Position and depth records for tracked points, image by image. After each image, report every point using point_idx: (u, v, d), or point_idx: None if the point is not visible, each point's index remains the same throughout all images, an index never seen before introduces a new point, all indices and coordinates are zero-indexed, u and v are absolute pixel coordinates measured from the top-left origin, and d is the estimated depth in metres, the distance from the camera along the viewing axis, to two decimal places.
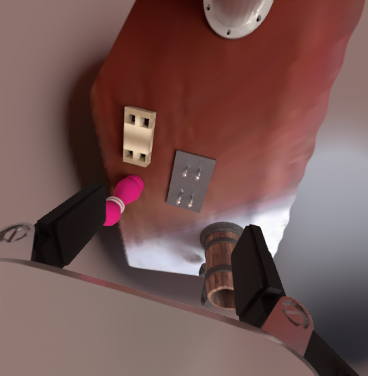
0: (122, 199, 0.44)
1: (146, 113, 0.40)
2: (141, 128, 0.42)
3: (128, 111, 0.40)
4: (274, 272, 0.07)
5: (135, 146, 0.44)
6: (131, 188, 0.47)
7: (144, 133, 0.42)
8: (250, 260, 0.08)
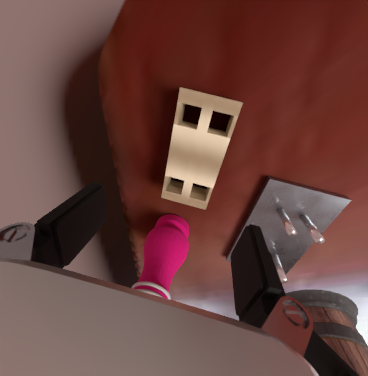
0: (165, 282, 0.21)
1: (230, 102, 0.17)
2: (211, 136, 0.19)
3: (187, 97, 0.18)
4: (274, 272, 0.07)
5: (190, 172, 0.22)
6: (177, 249, 0.25)
7: (215, 147, 0.20)
8: (250, 260, 0.08)
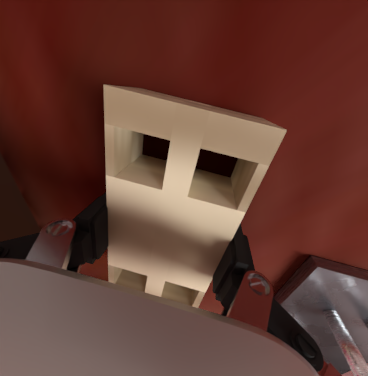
0: None
1: (248, 129, 0.06)
2: (197, 206, 0.08)
3: (129, 113, 0.06)
4: (244, 250, 0.08)
5: (158, 264, 0.10)
6: None
7: (209, 227, 0.08)
8: None
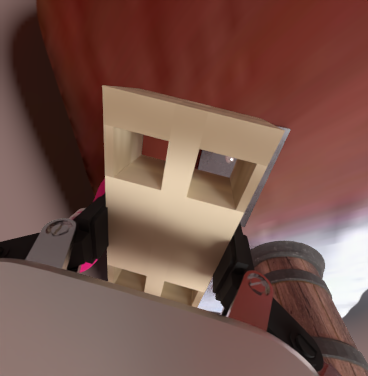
0: None
1: (247, 130, 0.06)
2: (196, 206, 0.08)
3: (128, 114, 0.06)
4: (244, 250, 0.08)
5: (157, 264, 0.10)
6: None
7: (208, 227, 0.08)
8: None
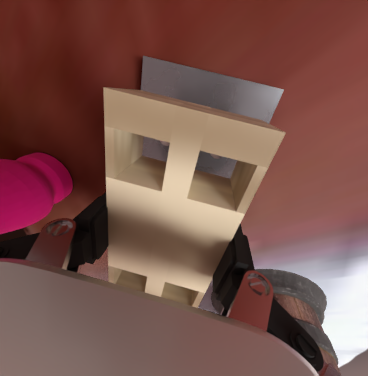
0: None
1: (247, 132, 0.06)
2: (197, 207, 0.08)
3: (129, 116, 0.06)
4: (244, 250, 0.08)
5: (158, 265, 0.10)
6: None
7: (209, 228, 0.08)
8: None
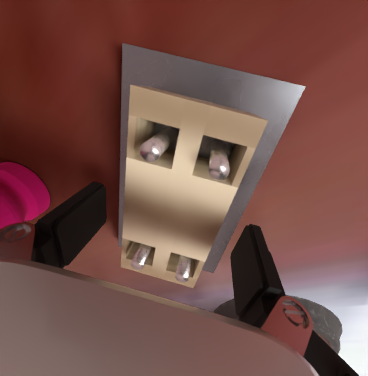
0: None
1: (240, 120, 0.08)
2: (200, 182, 0.10)
3: (148, 107, 0.08)
4: (274, 272, 0.07)
5: (165, 236, 0.12)
6: None
7: (209, 201, 0.10)
8: (250, 260, 0.08)
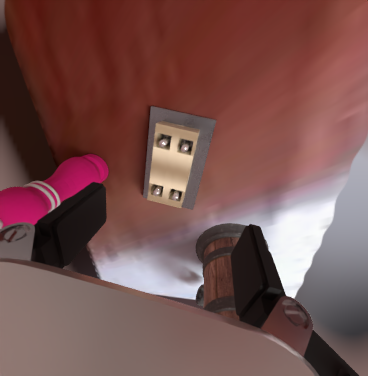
0: (57, 186, 0.26)
1: (190, 133, 0.26)
2: (179, 155, 0.27)
3: (161, 129, 0.26)
4: (274, 272, 0.07)
5: (167, 180, 0.30)
6: (80, 170, 0.29)
7: (183, 162, 0.28)
8: (250, 260, 0.08)
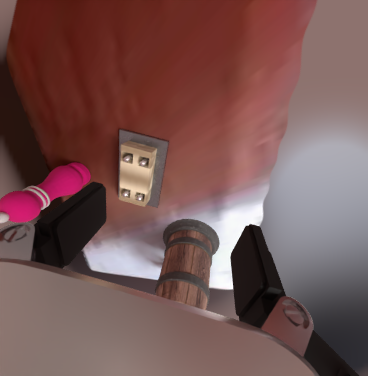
0: (47, 190, 0.35)
1: (146, 152, 0.35)
2: (140, 167, 0.37)
3: (125, 149, 0.35)
4: (274, 272, 0.07)
5: (133, 185, 0.39)
6: (66, 177, 0.38)
7: (143, 173, 0.37)
8: (250, 260, 0.08)
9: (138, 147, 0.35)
